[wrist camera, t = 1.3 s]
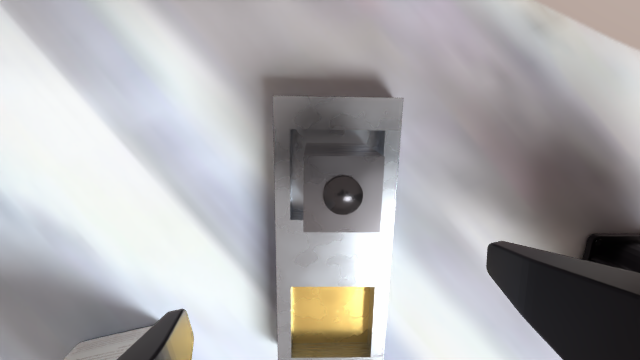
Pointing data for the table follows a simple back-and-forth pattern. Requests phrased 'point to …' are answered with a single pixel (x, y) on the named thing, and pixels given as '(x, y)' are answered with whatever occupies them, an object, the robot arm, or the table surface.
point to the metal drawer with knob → (342, 188)
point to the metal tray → (332, 233)
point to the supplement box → (106, 346)
